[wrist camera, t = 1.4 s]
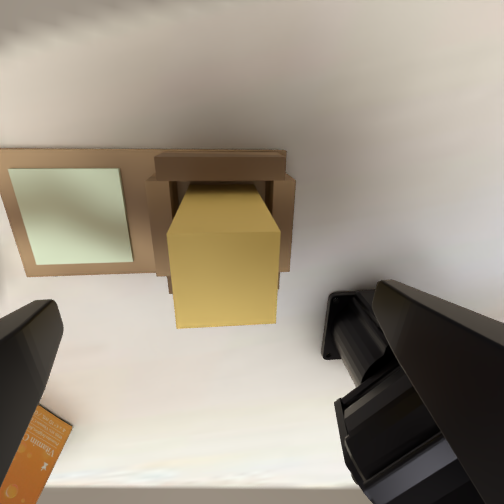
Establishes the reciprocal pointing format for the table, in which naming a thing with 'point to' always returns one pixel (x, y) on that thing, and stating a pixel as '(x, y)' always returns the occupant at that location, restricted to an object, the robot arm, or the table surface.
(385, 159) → the table surface
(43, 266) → the board
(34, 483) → the small box
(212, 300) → the block
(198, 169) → the pocket
